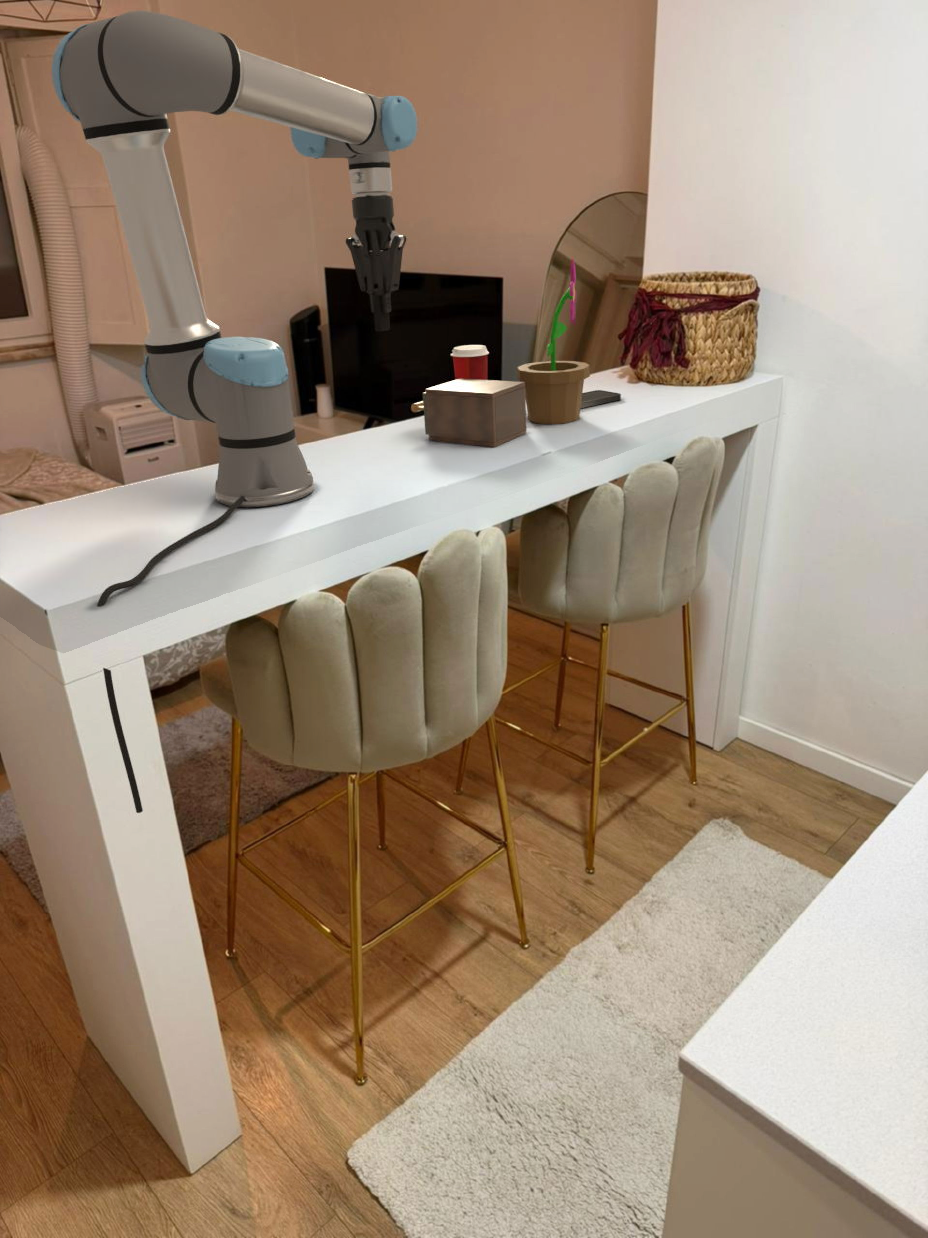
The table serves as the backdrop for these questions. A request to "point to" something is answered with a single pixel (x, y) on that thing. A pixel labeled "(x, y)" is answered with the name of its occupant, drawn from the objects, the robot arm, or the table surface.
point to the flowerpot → (555, 376)
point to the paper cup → (470, 362)
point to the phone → (598, 398)
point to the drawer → (422, 406)
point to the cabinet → (476, 411)
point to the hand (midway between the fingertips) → (382, 330)
